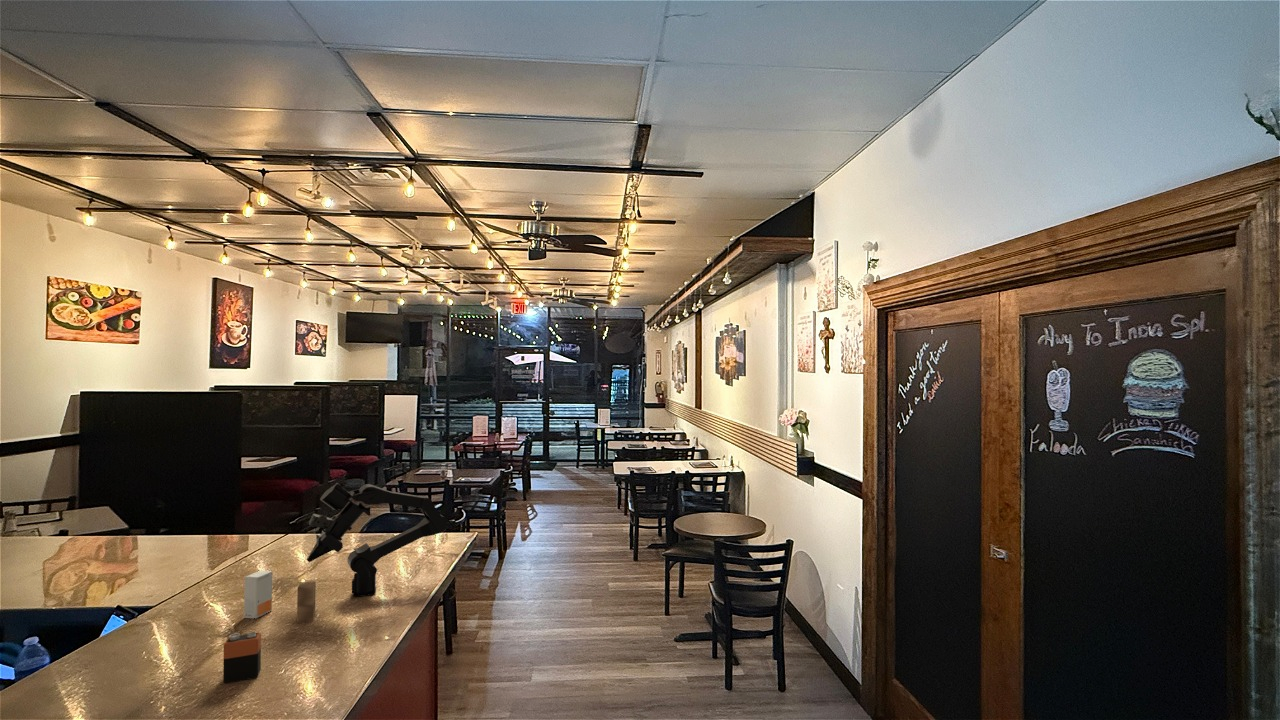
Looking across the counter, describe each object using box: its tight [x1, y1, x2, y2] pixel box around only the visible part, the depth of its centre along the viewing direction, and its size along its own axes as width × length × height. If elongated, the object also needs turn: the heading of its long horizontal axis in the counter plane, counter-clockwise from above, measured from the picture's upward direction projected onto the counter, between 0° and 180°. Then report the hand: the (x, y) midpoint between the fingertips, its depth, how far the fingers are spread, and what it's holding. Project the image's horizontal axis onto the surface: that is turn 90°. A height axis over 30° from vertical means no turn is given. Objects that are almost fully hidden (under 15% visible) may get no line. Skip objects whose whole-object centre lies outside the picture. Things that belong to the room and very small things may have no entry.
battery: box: [222, 631, 262, 684], centre depth 140 cm, size 4×7×10 cm, turn 114°
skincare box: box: [243, 570, 274, 620], centre depth 176 cm, size 6×4×12 cm
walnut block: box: [296, 581, 317, 624], centre depth 172 cm, size 4×4×10 cm
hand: (308, 560), depth 184 cm, fingers closed
